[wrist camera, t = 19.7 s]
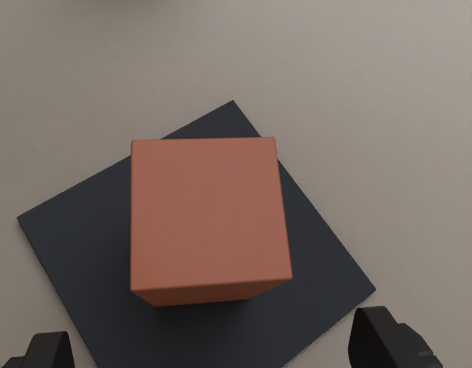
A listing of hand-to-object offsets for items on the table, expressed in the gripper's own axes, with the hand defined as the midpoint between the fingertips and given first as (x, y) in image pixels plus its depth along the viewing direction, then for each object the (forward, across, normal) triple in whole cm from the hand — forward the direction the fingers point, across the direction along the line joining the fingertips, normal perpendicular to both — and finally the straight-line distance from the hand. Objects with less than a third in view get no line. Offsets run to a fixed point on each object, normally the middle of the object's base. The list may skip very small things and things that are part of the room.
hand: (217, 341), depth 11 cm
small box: (+10, 0, +4) cm, 10 cm away
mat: (+10, 0, +4) cm, 11 cm away
